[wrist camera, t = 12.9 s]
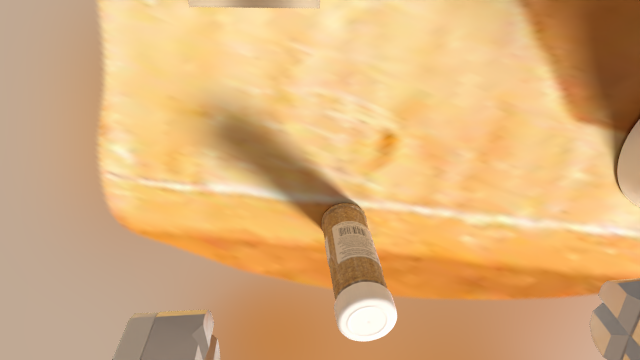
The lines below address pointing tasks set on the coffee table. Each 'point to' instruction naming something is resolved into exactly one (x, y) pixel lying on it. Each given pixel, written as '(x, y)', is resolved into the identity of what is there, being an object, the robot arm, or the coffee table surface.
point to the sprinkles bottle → (356, 275)
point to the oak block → (256, 3)
